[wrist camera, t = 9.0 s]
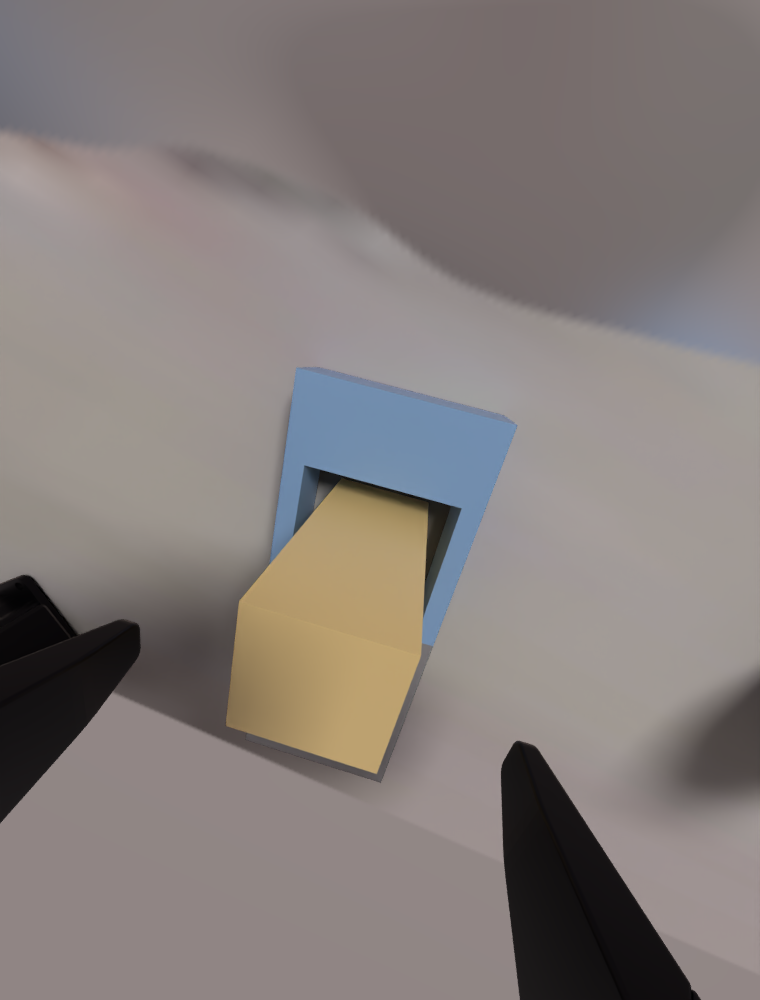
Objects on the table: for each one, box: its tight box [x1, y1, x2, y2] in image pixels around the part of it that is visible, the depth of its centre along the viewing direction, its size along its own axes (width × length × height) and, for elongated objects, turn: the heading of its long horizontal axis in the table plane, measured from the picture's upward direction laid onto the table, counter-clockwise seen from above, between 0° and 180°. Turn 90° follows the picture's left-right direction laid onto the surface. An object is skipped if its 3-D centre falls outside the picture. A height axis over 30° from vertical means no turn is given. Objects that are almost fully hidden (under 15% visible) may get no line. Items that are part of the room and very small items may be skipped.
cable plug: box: [226, 478, 429, 774], centre depth 12 cm, size 4×4×9 cm
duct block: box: [246, 367, 517, 783], centre depth 17 cm, size 19×8×2 cm, turn 166°
